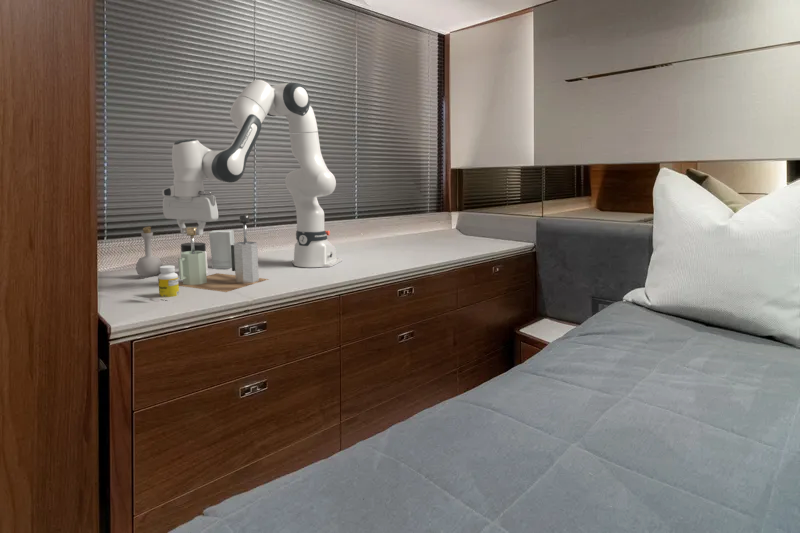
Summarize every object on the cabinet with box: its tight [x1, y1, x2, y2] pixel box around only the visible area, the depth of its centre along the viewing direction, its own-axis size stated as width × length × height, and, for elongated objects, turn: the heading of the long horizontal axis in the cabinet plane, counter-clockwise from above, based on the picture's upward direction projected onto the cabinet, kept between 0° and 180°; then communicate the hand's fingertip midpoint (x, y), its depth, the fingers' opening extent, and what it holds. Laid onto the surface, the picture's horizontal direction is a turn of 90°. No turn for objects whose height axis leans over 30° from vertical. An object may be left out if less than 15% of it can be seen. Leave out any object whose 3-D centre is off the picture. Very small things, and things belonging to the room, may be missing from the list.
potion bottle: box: [135, 226, 164, 280], centre depth 175 cm, size 9×9×18 cm
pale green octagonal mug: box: [177, 251, 207, 285], centre depth 162 cm, size 10×7×10 cm
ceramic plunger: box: [186, 226, 198, 254], centre depth 161 cm, size 5×5×10 cm
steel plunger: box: [239, 214, 250, 244], centre depth 164 cm, size 5×5×11 cm
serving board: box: [178, 272, 270, 293], centre depth 165 cm, size 21×23×1 cm
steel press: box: [231, 240, 260, 284], centre depth 166 cm, size 7×10×13 cm
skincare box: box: [208, 229, 236, 270], centre depth 194 cm, size 8×6×15 cm
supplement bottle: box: [157, 265, 180, 302], centre depth 146 cm, size 5×5×10 cm
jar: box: [180, 241, 209, 275], centre depth 177 cm, size 9×8×12 cm
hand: (192, 234), depth 161 cm, fingers open, 5 cm apart
